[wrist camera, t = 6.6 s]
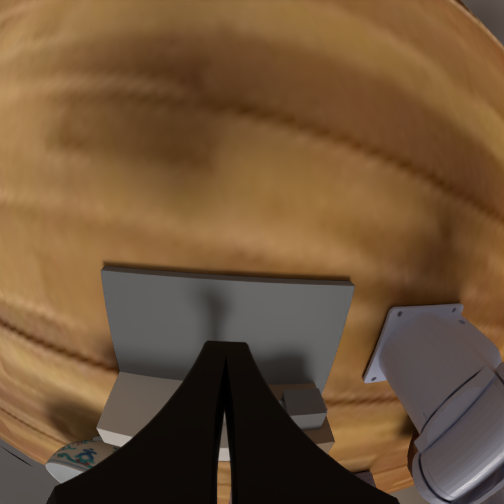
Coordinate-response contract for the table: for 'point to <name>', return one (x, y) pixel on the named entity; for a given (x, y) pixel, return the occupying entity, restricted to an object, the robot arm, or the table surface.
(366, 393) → the table surface
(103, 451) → the chinaware
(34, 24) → the table surface
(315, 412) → the door
